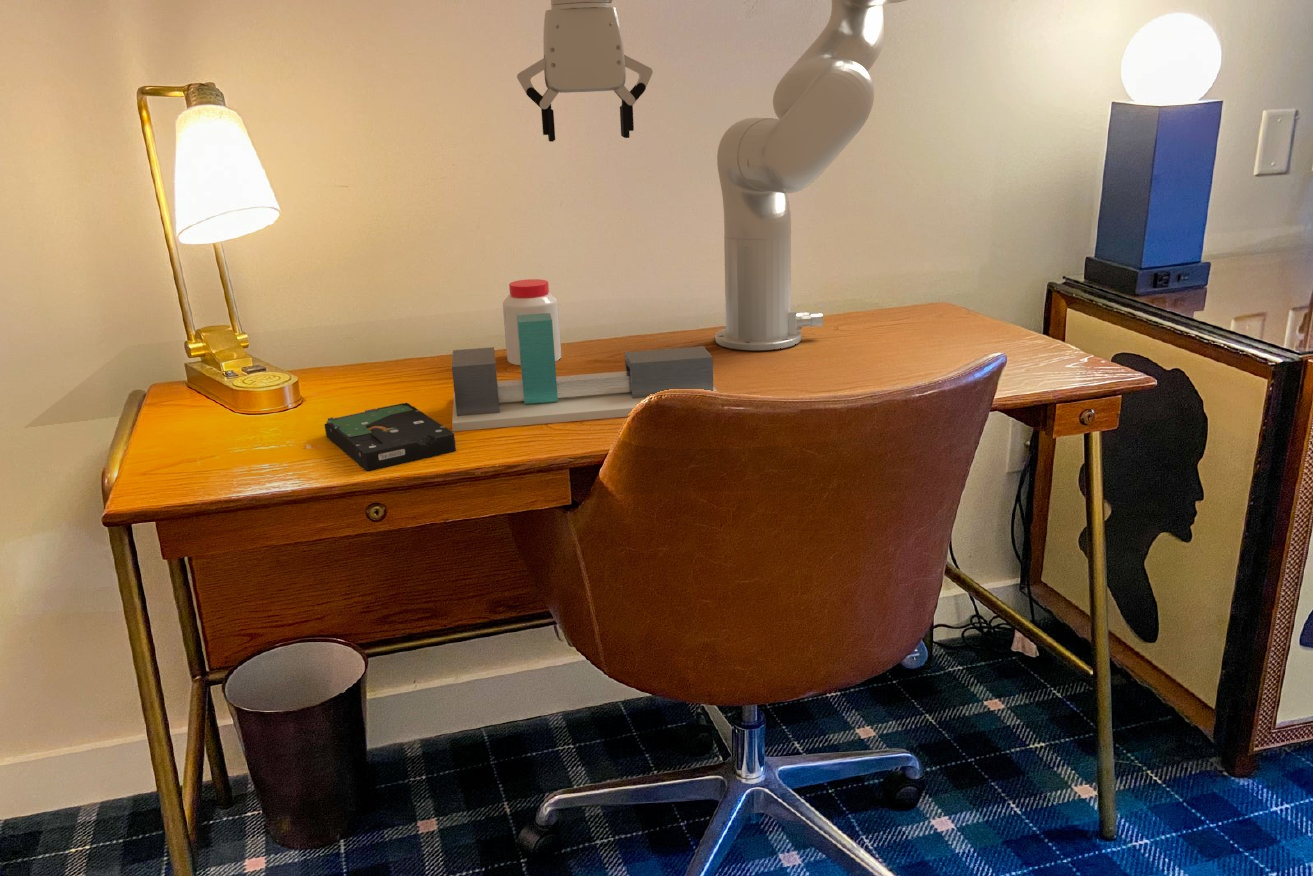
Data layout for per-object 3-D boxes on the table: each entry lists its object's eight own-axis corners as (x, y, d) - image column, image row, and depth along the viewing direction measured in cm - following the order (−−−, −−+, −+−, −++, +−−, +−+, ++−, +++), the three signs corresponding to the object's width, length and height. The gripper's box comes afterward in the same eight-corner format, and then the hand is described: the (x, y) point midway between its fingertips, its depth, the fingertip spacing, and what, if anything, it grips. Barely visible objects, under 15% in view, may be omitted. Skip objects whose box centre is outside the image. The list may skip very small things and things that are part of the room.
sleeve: (704, 379, 136) (703, 346, 134) (713, 391, 130) (712, 357, 129) (626, 386, 134) (624, 352, 133) (632, 398, 129) (631, 363, 127)
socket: (498, 393, 133) (494, 347, 131) (499, 412, 126) (495, 363, 124) (457, 397, 132) (453, 350, 130) (456, 416, 125) (451, 366, 123)
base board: (702, 379, 139) (702, 371, 139) (724, 408, 127) (724, 400, 127) (454, 399, 135) (454, 391, 135) (453, 431, 123) (452, 423, 122)
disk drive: (459, 456, 117) (409, 422, 128) (457, 432, 116) (406, 400, 127) (367, 478, 111) (323, 440, 123) (364, 452, 110) (320, 417, 122)
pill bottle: (565, 351, 156) (560, 277, 152) (556, 365, 149) (550, 287, 145) (514, 352, 157) (508, 278, 153) (501, 366, 150) (495, 288, 146)
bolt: (647, 384, 134) (643, 306, 130) (651, 393, 130) (648, 312, 127) (478, 398, 131) (470, 318, 127) (478, 407, 127) (470, 325, 124)
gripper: (644, -3, 138) (649, 134, 143) (510, 1, 135) (520, 140, 141) (653, -8, 131) (659, 137, 136) (512, -3, 128) (523, 144, 134)
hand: (588, 139), depth 139 cm, fingers open, 9 cm apart
